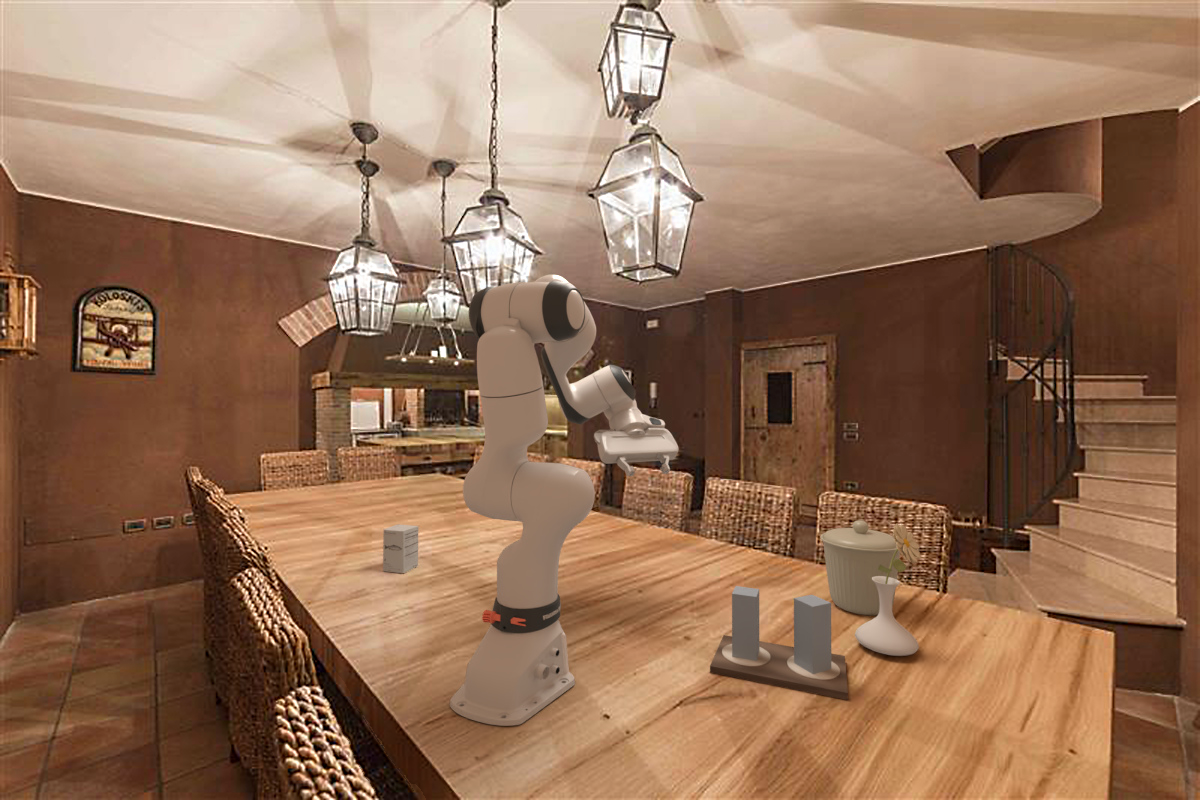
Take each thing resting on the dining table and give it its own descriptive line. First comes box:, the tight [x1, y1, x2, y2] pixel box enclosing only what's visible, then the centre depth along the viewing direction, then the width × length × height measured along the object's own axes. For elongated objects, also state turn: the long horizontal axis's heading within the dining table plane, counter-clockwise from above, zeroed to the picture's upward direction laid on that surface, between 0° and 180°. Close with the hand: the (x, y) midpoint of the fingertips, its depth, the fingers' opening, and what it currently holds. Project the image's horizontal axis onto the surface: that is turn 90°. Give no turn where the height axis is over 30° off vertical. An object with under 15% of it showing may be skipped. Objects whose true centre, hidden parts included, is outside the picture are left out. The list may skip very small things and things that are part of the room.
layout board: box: [709, 634, 849, 701], centre depth 99 cm, size 14×23×1 cm, turn 67°
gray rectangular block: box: [793, 594, 832, 674], centre depth 96 cm, size 4×4×12 cm
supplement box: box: [382, 523, 419, 574], centre depth 157 cm, size 7×7×13 cm
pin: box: [731, 585, 760, 661], centre depth 101 cm, size 4×4×12 cm
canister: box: [819, 519, 901, 616], centre depth 127 cm, size 18×18×21 cm
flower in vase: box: [854, 523, 921, 657], centre depth 106 cm, size 13×11×25 cm
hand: (649, 473), depth 122 cm, fingers open, 8 cm apart
